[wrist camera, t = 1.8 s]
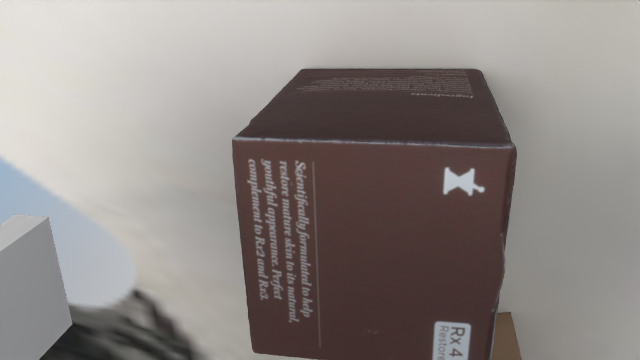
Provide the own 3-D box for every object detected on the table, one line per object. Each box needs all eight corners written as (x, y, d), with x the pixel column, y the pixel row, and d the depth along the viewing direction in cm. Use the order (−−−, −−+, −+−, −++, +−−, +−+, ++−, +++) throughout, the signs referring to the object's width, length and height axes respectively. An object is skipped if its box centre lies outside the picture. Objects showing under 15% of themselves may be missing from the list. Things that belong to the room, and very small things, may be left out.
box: (299, 63, 18) (225, 129, 11) (485, 66, 17) (524, 140, 10) (305, 224, 20) (246, 357, 14) (469, 235, 19) (491, 385, 13)
